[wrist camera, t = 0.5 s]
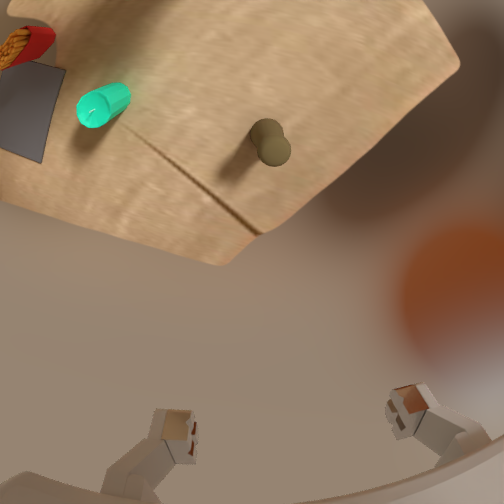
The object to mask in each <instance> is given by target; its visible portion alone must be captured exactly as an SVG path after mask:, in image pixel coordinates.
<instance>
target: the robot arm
mask: <svg viewBox="0 0 504 504" xmlns="http://www.w3.org/2000/svg"><path fill="white" fill-rule="evenodd" d="M390 398H391V399H390V400H389V401H388V402H387V404H386V407H385V414H386V418H387V420H388V422H389V423H391V424H393V427H392V431H393V433H394V435H395V437H396V440H400V439H403V438H407V437H411V436H414V437H415V438H416V439H417V440H419V441H420V442H422V443H423V444H424V445H426V446H427V447H428V448H430V449H431V450H433V451H434V452H435V453H437V454H438V455H440V456H441V458H440V459H439V461H438V462H437V464H436V465H435V468H433V469H430V470H428V471H425V472H422V473H420V474H417V475H414V476H411V477H409V478H406V479H402V480H399V481H396V482H393V483H390V484H386V485H383V486H379V487H375V488H372V489H368V490H364V491H360V492H356V493H352V494H346V495H342V496H337V497H332V498H326V499H320V500H314V501H307V502H300V503H292V504H504V435H502V436H500V437H498V438H496V439H495V440H493V441H492V440H491V439H490V437H489V436H488V434H487V433H486V431H485V430H484V428H483V427H482V425H481V424H480V423H479V422H477V421H474V420H472V419H470V418H468V417H466V416H464V415H462V414H460V413H458V412H456V411H454V410H452V409H450V408H448V407H446V406H444V405H439V404H438V402H437V401H436V399H435V398H434V396H433V395H432V393H431V392H430V390H429V389H428V387H427V386H426V384H425V383H424V382H420V383H416V384H412V385H408V386H404V387H400V388H396V389H392V391H391V392H390ZM194 418H195V415H194V412H193V411H192V410H174V409H173V410H172V409H156V410H155V411H154V414H153V419H152V422H151V426H150V431H149V434H148V438H147V439H145V438H144V439H143V440H142V441H140V442H139V443H138V444H137V445H136V446H135V447H133V448H132V449H131V450H130V451H129V452H127V453H126V454H125V455H124V456H123V457H121V458H120V459H119V460H118V461H116V462H115V463H114V464H113V465H111V466H110V467H109V468H108V469H107V471H106V475H105V478H104V481H103V485H102V488H101V491H100V493H98V492H94V491H90V490H86V489H82V488H79V487H75V486H72V485H68V484H65V483H62V482H59V481H55V480H53V479H49V478H47V477H44V476H41V475H39V474H36V473H33V472H29V471H25V472H22V473H19V474H17V475H15V476H13V477H11V478H9V479H8V480H6V481H4V482H2V483H1V484H0V504H162V502H161V501H160V500H159V498H158V497H157V495H156V494H155V493H154V491H153V490H154V489H155V488H156V487H157V486H158V484H159V483H160V482H161V481H162V480H163V479H164V478H165V477H166V475H167V474H168V473H169V472H170V471H171V470H172V468H173V467H174V466H175V464H196V457H197V450H196V447H195V446H196V445H197V444H198V426H197V422H195V421H194Z"/></svg>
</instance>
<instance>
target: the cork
mask: <svg viewBox="0 0 504 504" xmlns="http://www.w3.org/2000/svg"><path fill="white" fill-rule="evenodd" d="M250 137H251V140H252V142H253V143H254V145H255V146H256V147H257V153H258V157H259V158H260V160H261V161H262V162H263V163H264V164H266V165H268V166H272V167H277V166H281V165H282V164H284V163H285V162H286V161H287V160H288V159H289V157H290V154H291V146H290V144H289V142H288V140H287V139H286V138H285V137H284V133H283V129H282V127H281V125H280V124H279V123H278V122H277V121H275V120H273V119H266V118H265V119H261V120H259V121H257V122H256V123H255V124H254V125H253V126H252V129H251V131H250Z"/></svg>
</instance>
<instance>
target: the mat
mask: <svg viewBox="0 0 504 504" xmlns="http://www.w3.org/2000/svg"><path fill="white" fill-rule="evenodd" d="M65 72H66V70H63V69H59V68H56V67H52V66H48V65H44V64H41V63H37V62H33V61H28V62H25V63H21V64H18V65H16V66H13V67H10V68H7V69H5V70H3V72H2V75H1V80H0V147H1V148H3V149H6V150H8V151H11V152H13V153H16V154H19V155H21V156H24V157H26V158H29V159H31V160H34V161H36V162H39V163H42V159H43V154H44V149H45V144H46V139H47V135H48V131H49V126H50V122H51V118H52V115H53V111H54V107H55V104H56V100H57V97H58V93H59V90H60V87H61V84H62V81H63V78H64V75H65Z"/></svg>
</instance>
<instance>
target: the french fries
mask: <svg viewBox="0 0 504 504" xmlns="http://www.w3.org/2000/svg"><path fill="white" fill-rule="evenodd" d="M55 36H56V34H55V33H54V31H53V30H52V29H51V28H46V27H36V26H25V27H23V28H20V29H16V30H15V31H14V33H11V34H10V35H9V37H8V38H7V40H6V42H5V43H4V44H3V45H1V46H0V70H5V69H7V68H10V67H13V66H16V65H18V64H21V63H25V62H28V61H31V60H34V59H37V58H40V57H41V55H42V54H43V53H44V52H45V51H46V50H47V49H48V48H49V47H50V46H51V45H52V43H54V40H55Z"/></svg>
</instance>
